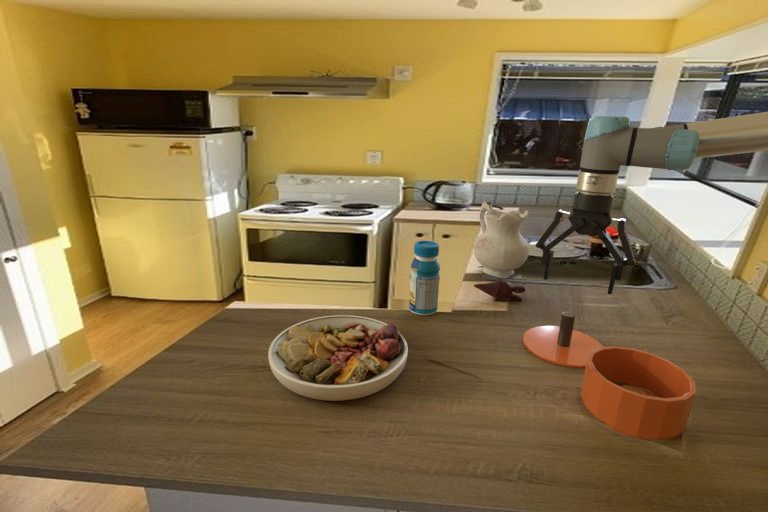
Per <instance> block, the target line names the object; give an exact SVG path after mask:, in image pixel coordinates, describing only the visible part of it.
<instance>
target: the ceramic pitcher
mask: <svg viewBox="0 0 768 512" xmlns="http://www.w3.org/2000/svg"><path fill="white" fill-rule="evenodd" d="M492 203H493V201H492V200H487V199H484V200H483V201H482V204H481V206H480V210H479V223H480V228H481V231H482V233H481V234H480V235H478V236H477V237H475V239H474V242H473V254H474V257H475V259H476V261H477V262H478V263H479V264H480V265H481V266H483V267H482V268H481V270H480V271H481V273H483V274H486V275H489V276H491V277H493V278H497V279H508V278H510V277H511V276H513V275H515V270H517V269H519V268H520V267H522V266H523V265H524V264H525V262H526V261H527V260H528V258H529V255H530V250H531V249H530V248H531V247H530V243H529V242H528V241H527V239H525V238H524V237H523V236H522V234H521V227H522V224H523V223H524V222H525V221H526V220H527V219H528V217H529V210H525V211H524V213H521V212H520V211H519V210H518V211H517V210H511V211H506V212H504V211H500V210H495V209H494V208H493V204H492Z"/></svg>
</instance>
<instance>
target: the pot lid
mask: <svg viewBox="0 0 768 512" xmlns="http://www.w3.org/2000/svg"><path fill="white" fill-rule="evenodd" d="M576 316H577V315H576V314H575V313H574V312H572V311H563V312H561V317H560V323H559V326H557V325H540V326H534V327H531V328H529V329H527V330H526V331H525V332H524V334H523V337H522V342H523V345H524V346H525V348H526V349H527V350H528V351H529V352H530V353H532V354H533V355H534V356H536V357H538V358H539V359H541V360H544V361H546V362H549V363H552V364H555V365H558V366H562V367H568V368H574V369H575V368H576V369H585V367H586V362H587V359H588V356H589V354H590V352H592V351H594V350H596V349H598V348H600V347H604V345H603V344H601V342H599V341H598V340H597V339H595V338H594V337H592V336H591V335H588V334H586V333H584V332H581V331H579V330H576V329H574V327H575V321H576Z"/></svg>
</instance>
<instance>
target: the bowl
mask: <svg viewBox="0 0 768 512" xmlns="http://www.w3.org/2000/svg"><path fill="white" fill-rule="evenodd" d="M408 347H409V346H408V343H407V341H406V339H405V337H404V336H403V335H402V334H401V332H400V331H399V330H398V327H397V326H396V325H394V324H392V323H386V322H383V321H380V320H378V319H374V318H371V317H367V316H361V315H350V314H349V315H347V314H337V315H335V314H334V315H325V316H319V317H313V318H310V319H306V320H303V321H300V322H298V323H295V324H292V325H291V326H288V327H287V328H286V329H284V330H283V331H281V332H280V333H279V334H278V335H277V336H276V337H275V338H274V339H273V340H272V342H271V343H270V345H269V348H268V354H267V355H268V356H267V357H268V364H269V367H270V370H271V372H272V374H273V375H274V377H275V379H277V381H278V382H279V383H280V384H281V385H282V386H284V387H285V388H286V389H288V390H290V391H291V392H292V393H294V394H297V395H298V396H299V395H300V396H303V397H306V398H309V399H312V400H313V399H314V400H319V401H330V402H335V401H336V402H338V401H339V402H341V401H342V402H343V401H350V400H356V399H357V400H358V399H361V398H364V397H367V396H371V395H374V394H376V393H377V392H380V391H382V390H383V389H385V388H387V387H388V386H389V385H391V384H393V382H394V381H395V380H397V378H398V377H399V376H400V375H401V373H402V372H403V370H404V368H405V367H406V363H407V360H408V353H409V349H408Z"/></svg>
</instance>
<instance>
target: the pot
mask: <svg viewBox="0 0 768 512" xmlns="http://www.w3.org/2000/svg"><path fill="white" fill-rule="evenodd" d="M616 383H623V384H626V385H629V386H634V387H639V388H643V389H648V390H650V391H651V392H653V394H654V395H656V396H657V397H651V396H645V395H642V394H639V393H636V392H633V391H629V390H626V389H624V388H622V387H620V386H621V385H618V384H616ZM579 395H580V397H581V400H582V403H583V405H584V406H585V408H587V410H589V412H591V413H592V415H593V416H595V417H596V418H597V419H598V420H600V421H599V422H600V423H601V424H603V426H606V427H607V428H609V429H610V430H613V431H616V432H618V433H620V434H622V435H625V436H627V437H631V438H634V439H638V440H642V441H648V442H652V439H653V440H658V441H659V440H667V439H673V438H674V439H675V438H677V437H678V436H679V435H681V433H683V432H684V431H685V430H686V427H687V424H688V420H689V417H690V414H691V410H692V408H693V404H694V400H695V397H696V395H697V383H696V382H695V380H694V379H693V378H692V376H691V375H690V374H689V372H687V371H686V370H684V369H683V368H681V367H679V366H678V365H677V364H675V363H673V361H671V360H668V359H666V358H663V357H661V356H659V355H658V354H655V353H652V352H648V351H644V350H641V349H637V348H633V347H625V346H617V345H615V346H613V345H612V346H603V347H600V348H598V349H596V350H594V351H592V352H590V354H589V356H588V359H587V362H586V367H585V368H584V373H583V377H582V383H581V388H580V393H579Z"/></svg>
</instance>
